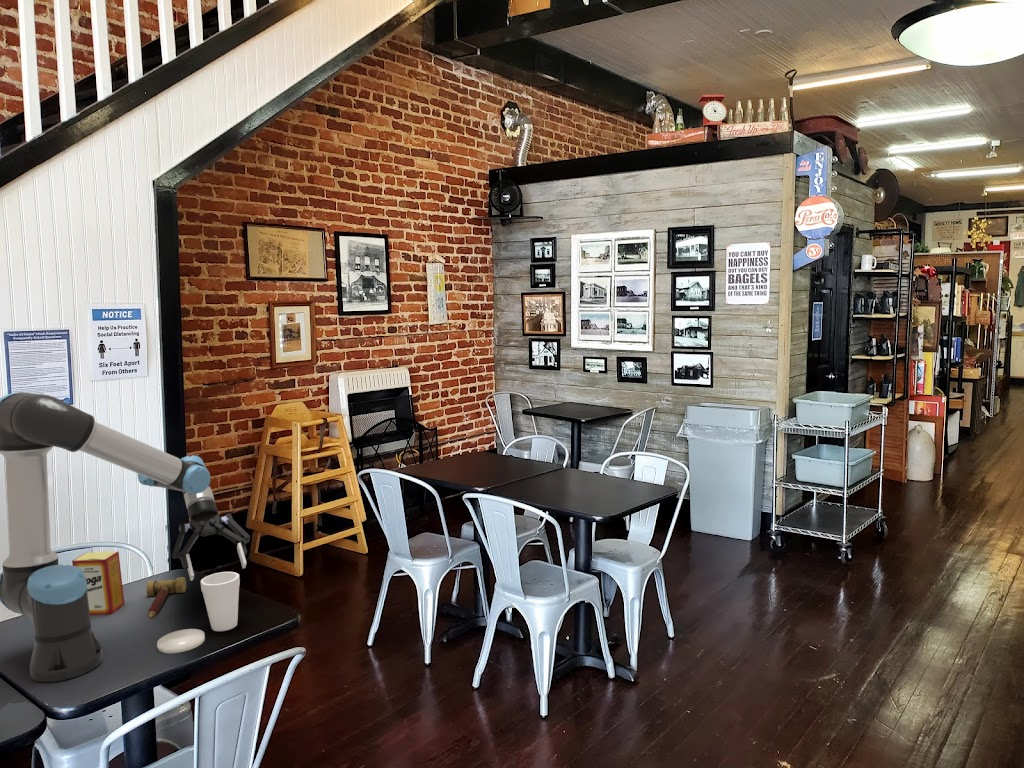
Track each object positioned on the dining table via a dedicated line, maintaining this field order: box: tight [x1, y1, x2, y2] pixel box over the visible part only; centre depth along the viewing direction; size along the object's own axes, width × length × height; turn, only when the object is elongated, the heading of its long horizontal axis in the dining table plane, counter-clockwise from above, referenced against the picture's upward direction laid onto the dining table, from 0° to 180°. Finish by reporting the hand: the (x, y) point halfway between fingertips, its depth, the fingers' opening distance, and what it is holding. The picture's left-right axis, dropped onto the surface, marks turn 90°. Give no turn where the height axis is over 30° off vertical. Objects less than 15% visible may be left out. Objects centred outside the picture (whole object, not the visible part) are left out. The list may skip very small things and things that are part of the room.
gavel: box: [145, 576, 187, 619], centre depth 221 cm, size 21×5×10 cm
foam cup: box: [200, 571, 241, 632], centre depth 203 cm, size 10×9×13 cm
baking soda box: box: [71, 551, 126, 616], centre depth 218 cm, size 10×6×16 cm
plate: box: [156, 628, 206, 654], centre depth 195 cm, size 11×11×1 cm
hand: (218, 571), depth 210 cm, fingers open, 13 cm apart
